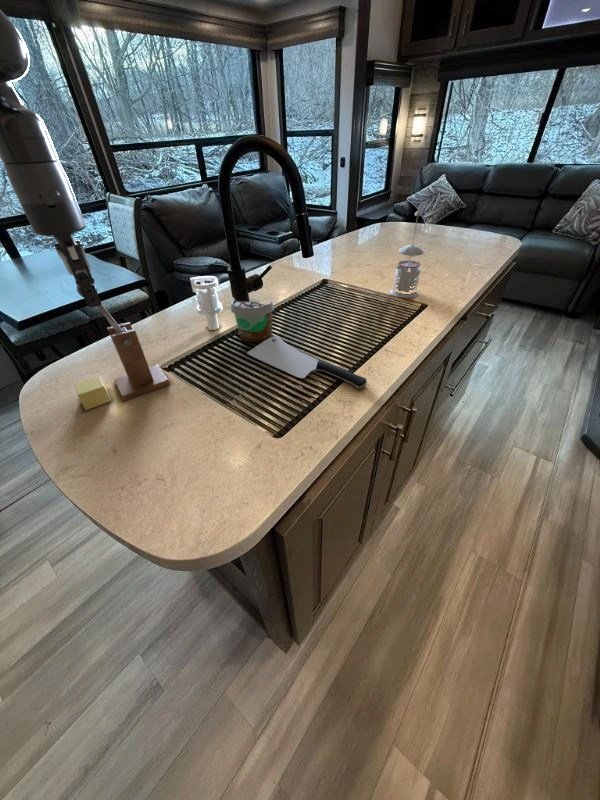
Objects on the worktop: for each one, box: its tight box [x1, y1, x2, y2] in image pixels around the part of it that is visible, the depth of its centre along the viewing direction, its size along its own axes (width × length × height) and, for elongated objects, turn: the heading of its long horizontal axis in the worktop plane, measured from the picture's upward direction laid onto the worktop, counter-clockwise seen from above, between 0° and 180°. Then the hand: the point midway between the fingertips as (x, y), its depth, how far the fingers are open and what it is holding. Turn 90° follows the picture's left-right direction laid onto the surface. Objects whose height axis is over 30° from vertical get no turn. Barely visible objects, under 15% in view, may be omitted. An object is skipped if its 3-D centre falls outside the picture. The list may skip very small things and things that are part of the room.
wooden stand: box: [106, 321, 170, 401], centre depth 72 cm, size 10×8×14 cm
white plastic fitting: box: [189, 275, 224, 331], centre depth 93 cm, size 7×7×15 cm
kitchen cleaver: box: [246, 335, 368, 389], centre depth 80 cm, size 31×2×10 cm
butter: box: [74, 375, 112, 411], centre depth 71 cm, size 5×5×4 cm
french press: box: [389, 210, 426, 299], centre depth 108 cm, size 10×12×25 cm
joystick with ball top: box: [76, 283, 127, 334], centre depth 65 cm, size 14×3×3 cm
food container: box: [230, 297, 275, 343], centre depth 89 cm, size 12×6×10 cm, turn 71°
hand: (91, 298), depth 62 cm, fingers open, 8 cm apart
